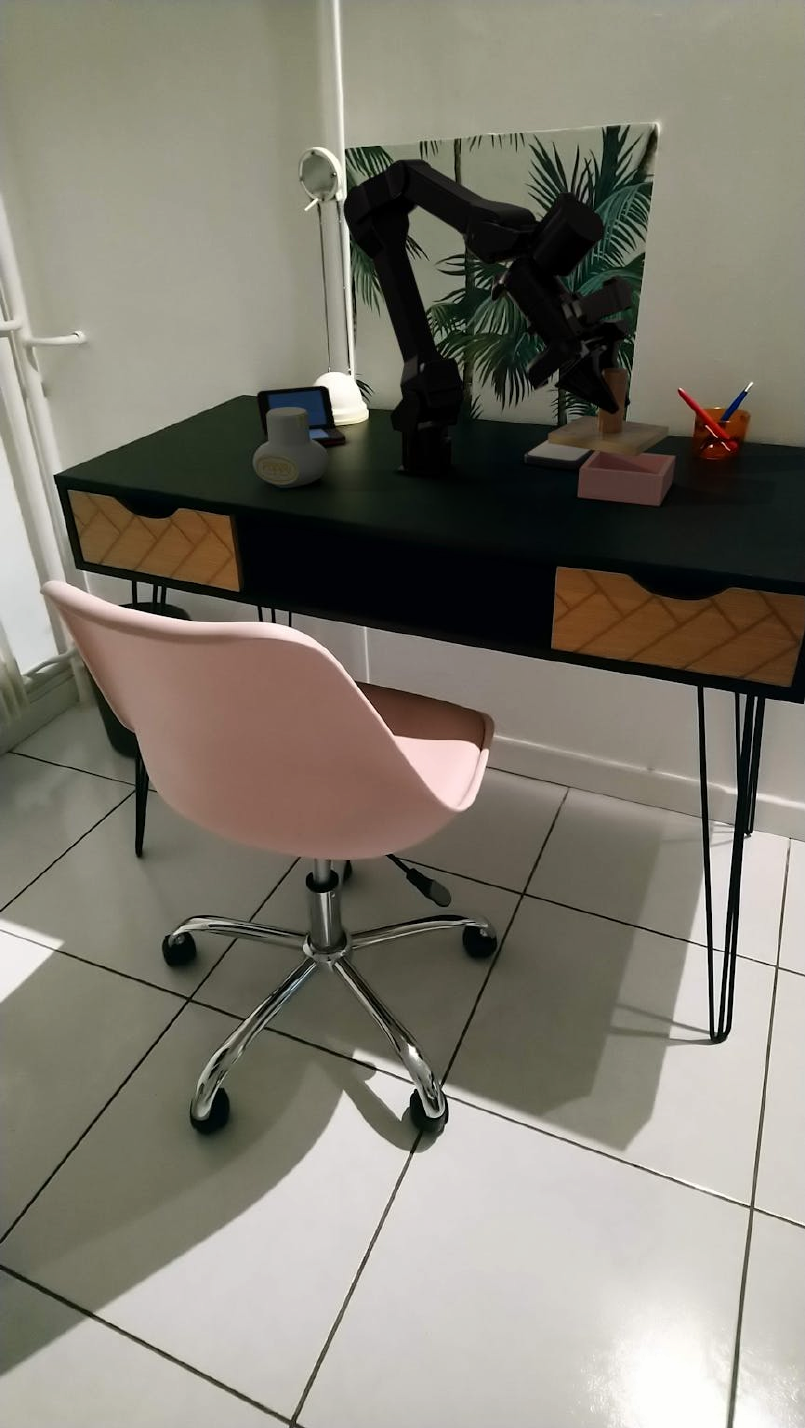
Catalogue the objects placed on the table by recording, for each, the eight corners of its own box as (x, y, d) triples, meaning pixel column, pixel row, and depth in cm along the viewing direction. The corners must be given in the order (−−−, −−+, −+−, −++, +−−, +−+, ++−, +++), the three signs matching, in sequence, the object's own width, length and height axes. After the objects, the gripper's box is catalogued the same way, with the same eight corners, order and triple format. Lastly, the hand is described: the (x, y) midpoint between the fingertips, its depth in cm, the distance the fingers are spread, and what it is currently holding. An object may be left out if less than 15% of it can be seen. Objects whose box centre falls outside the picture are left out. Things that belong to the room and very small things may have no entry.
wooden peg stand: (547, 443, 110) (552, 373, 105) (583, 424, 117) (588, 358, 112) (636, 456, 104) (645, 383, 100) (667, 436, 111) (677, 367, 107)
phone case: (575, 473, 132) (613, 444, 143) (576, 462, 131) (614, 434, 142) (520, 465, 136) (561, 438, 147) (521, 454, 135) (562, 428, 146)
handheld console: (273, 452, 144) (268, 404, 140) (259, 436, 153) (254, 391, 149) (347, 443, 147) (345, 396, 143) (330, 428, 156) (327, 384, 152)
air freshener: (245, 485, 129) (237, 415, 124) (275, 470, 135) (268, 402, 130) (311, 494, 125) (306, 421, 120) (339, 477, 132) (334, 407, 126)
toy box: (577, 497, 122) (579, 468, 119) (594, 476, 129) (597, 448, 127) (659, 506, 118) (663, 476, 116) (671, 484, 125) (675, 455, 123)
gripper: (558, 259, 95) (644, 379, 95) (626, 245, 108) (701, 350, 108) (491, 333, 103) (570, 442, 103) (561, 311, 116) (632, 409, 116)
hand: (621, 409), depth 108 cm, fingers closed on wooden peg stand, 3 cm apart
